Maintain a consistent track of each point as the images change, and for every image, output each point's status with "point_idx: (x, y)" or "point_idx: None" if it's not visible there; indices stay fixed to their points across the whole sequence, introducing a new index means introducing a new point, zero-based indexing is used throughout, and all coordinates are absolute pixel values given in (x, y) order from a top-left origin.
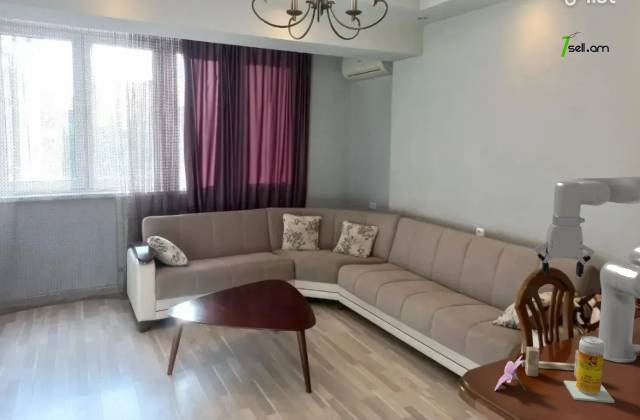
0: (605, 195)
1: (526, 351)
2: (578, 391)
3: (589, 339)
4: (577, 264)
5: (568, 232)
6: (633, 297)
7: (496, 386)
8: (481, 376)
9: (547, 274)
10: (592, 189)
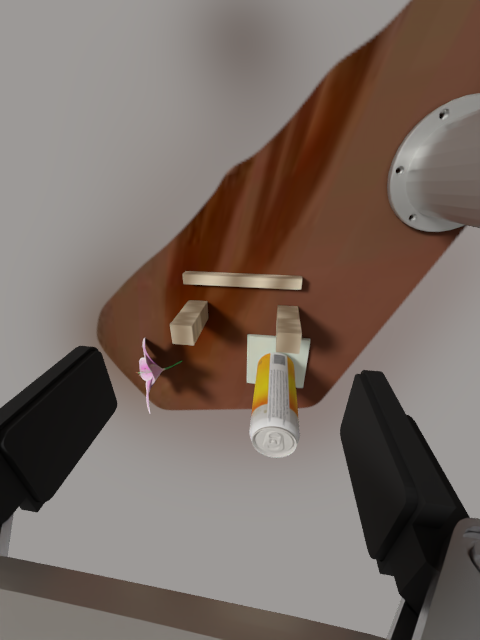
0: None
1: (174, 320)
2: None
3: (269, 439)
4: (390, 501)
5: None
6: None
7: (139, 362)
8: (117, 325)
9: (107, 414)
10: None
